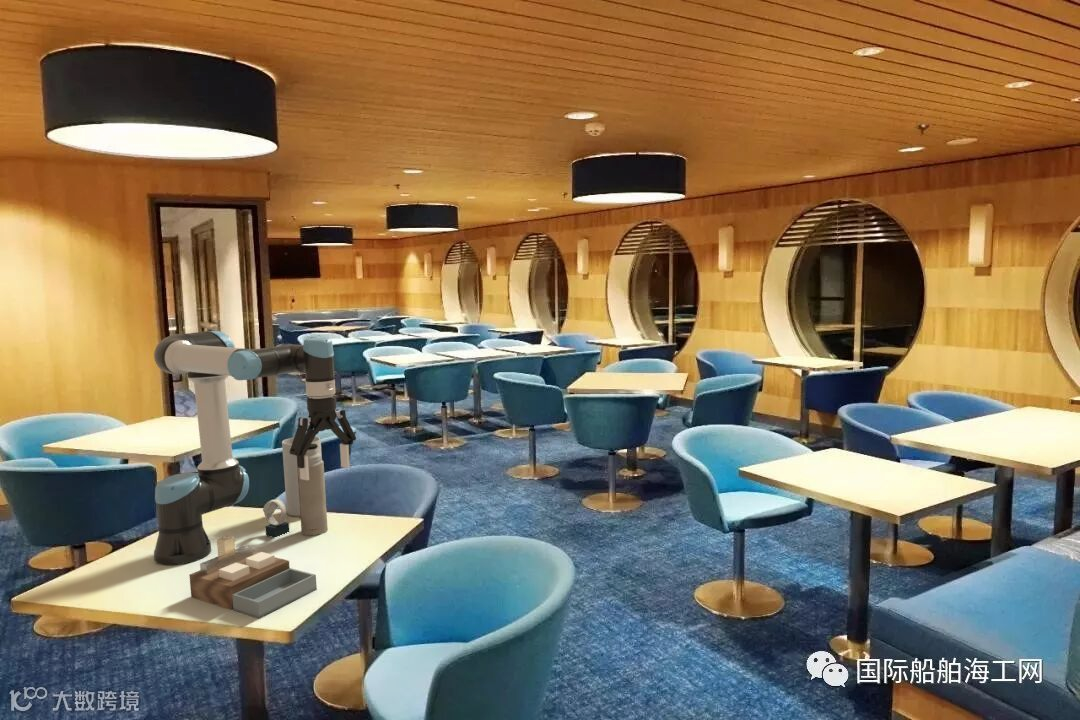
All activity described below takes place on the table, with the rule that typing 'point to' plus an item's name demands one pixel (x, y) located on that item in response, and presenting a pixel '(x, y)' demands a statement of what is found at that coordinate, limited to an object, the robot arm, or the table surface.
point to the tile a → (234, 571)
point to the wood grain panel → (231, 583)
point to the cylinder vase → (293, 476)
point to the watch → (274, 527)
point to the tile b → (260, 560)
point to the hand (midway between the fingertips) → (325, 473)
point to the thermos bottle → (313, 495)
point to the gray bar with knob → (225, 555)
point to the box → (274, 592)
